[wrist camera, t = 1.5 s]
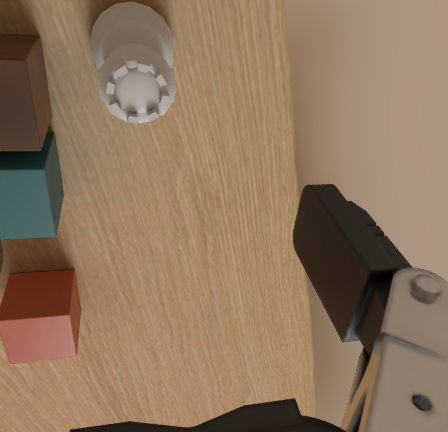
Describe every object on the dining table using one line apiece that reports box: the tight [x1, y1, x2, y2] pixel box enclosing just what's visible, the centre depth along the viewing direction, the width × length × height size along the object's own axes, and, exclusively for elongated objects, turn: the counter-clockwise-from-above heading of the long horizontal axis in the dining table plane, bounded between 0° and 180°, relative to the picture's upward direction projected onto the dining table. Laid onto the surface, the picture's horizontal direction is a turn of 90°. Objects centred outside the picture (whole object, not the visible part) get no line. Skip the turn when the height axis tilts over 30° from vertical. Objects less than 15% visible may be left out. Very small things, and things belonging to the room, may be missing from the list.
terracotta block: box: [0, 270, 81, 364], centre depth 31 cm, size 4×4×4 cm
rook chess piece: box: [90, 1, 176, 124], centre depth 20 cm, size 4×4×8 cm
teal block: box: [0, 133, 64, 240], centre depth 25 cm, size 4×4×4 cm
